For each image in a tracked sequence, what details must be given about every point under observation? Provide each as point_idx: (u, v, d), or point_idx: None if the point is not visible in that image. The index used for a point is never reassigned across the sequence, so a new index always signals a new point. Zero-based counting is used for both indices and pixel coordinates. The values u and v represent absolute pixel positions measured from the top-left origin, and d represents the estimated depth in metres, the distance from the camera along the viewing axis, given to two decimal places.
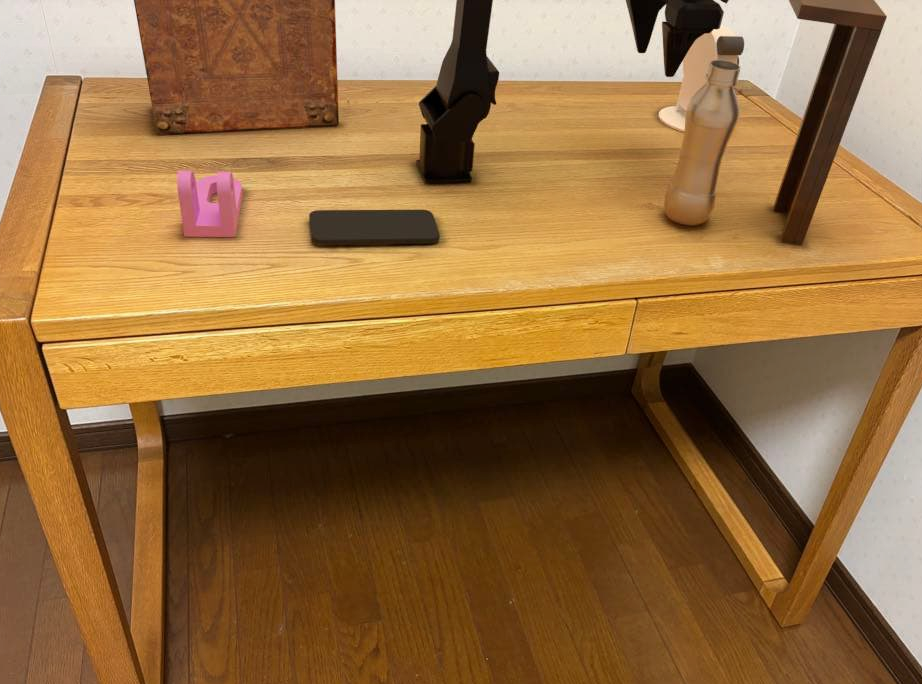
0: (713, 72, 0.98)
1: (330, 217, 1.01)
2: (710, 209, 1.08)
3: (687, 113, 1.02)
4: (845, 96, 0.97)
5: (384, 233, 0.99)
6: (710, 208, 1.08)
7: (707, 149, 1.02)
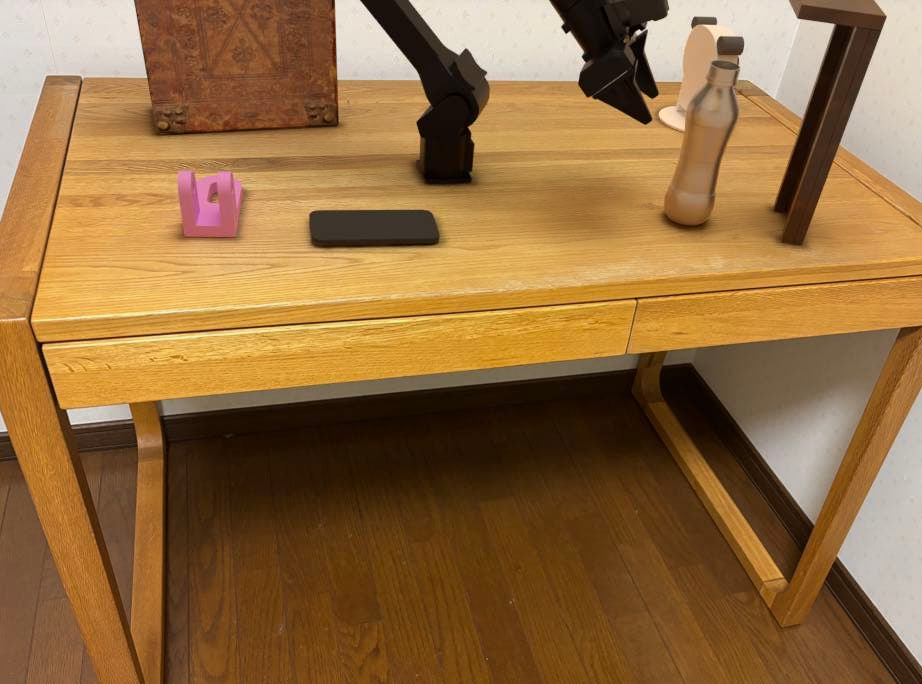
0: (713, 72, 0.98)
1: (330, 217, 1.01)
2: (710, 209, 1.08)
3: (687, 113, 1.02)
4: (845, 96, 0.97)
5: (384, 233, 0.99)
6: (710, 208, 1.08)
7: (707, 149, 1.02)
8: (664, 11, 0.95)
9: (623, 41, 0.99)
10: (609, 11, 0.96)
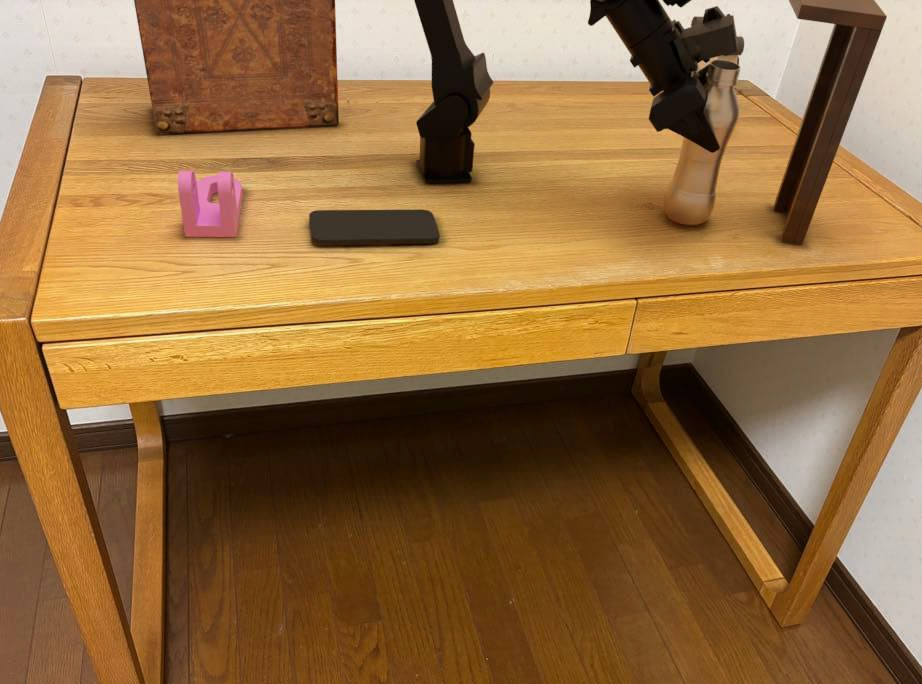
0: (713, 72, 0.98)
1: (330, 217, 1.01)
2: (710, 209, 1.08)
3: None
4: (845, 96, 0.97)
5: (384, 233, 0.99)
6: (710, 208, 1.08)
7: None
8: (735, 46, 0.95)
9: None
10: (679, 46, 0.96)
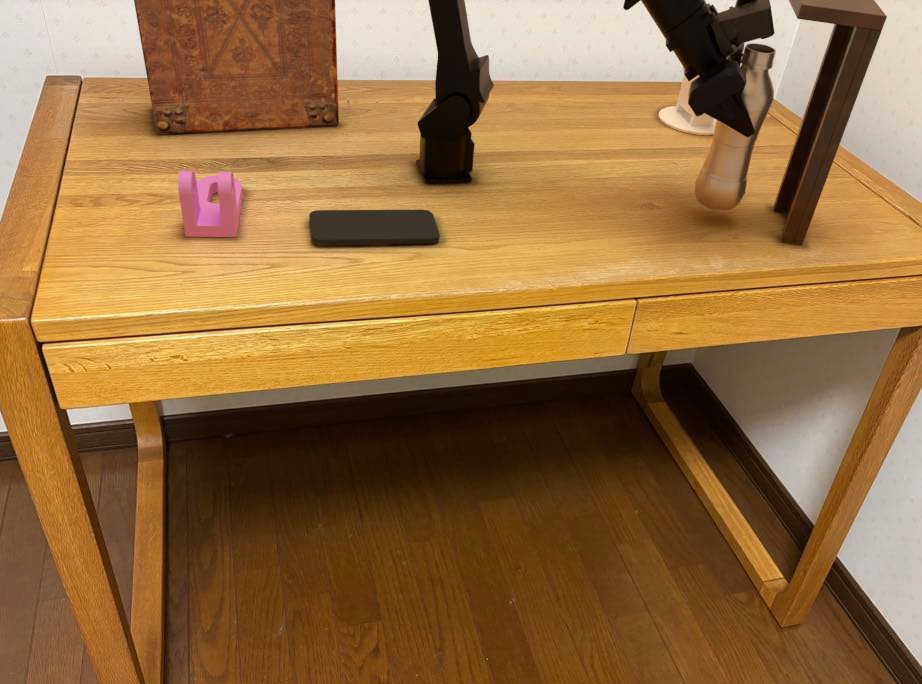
0: (749, 55, 0.98)
1: (330, 217, 1.01)
2: (742, 194, 1.08)
3: None
4: (845, 96, 0.97)
5: (384, 233, 0.99)
6: (742, 193, 1.08)
7: None
8: (772, 29, 0.95)
9: None
10: (717, 29, 0.96)
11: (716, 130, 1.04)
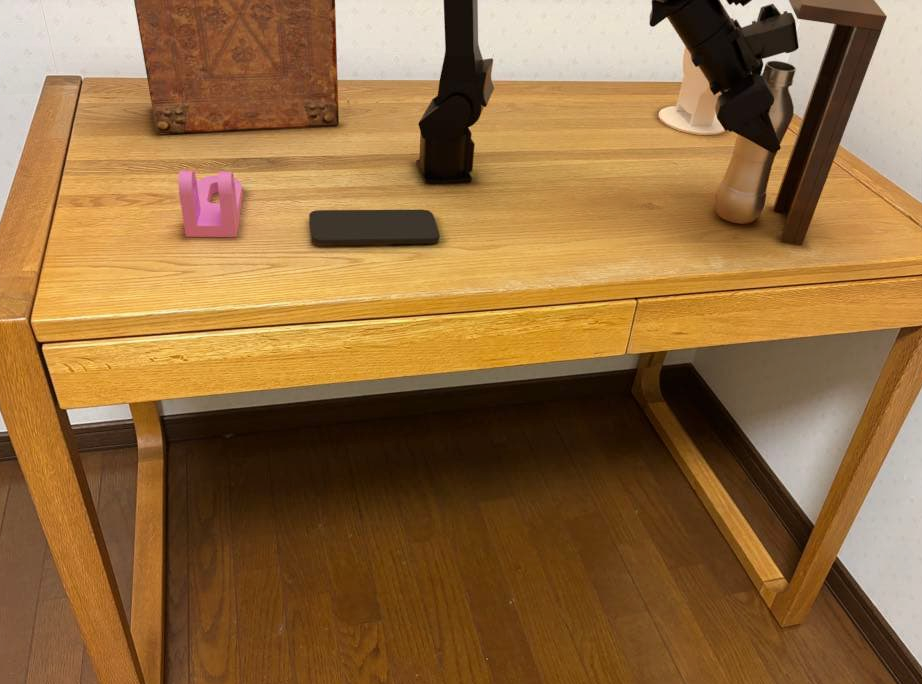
0: (770, 73, 1.00)
1: (330, 217, 1.01)
2: (762, 207, 1.10)
3: None
4: (845, 96, 0.97)
5: (384, 233, 0.99)
6: (762, 206, 1.10)
7: (763, 149, 1.04)
8: (796, 43, 0.97)
9: (750, 72, 1.00)
10: (742, 44, 0.97)
11: (737, 146, 1.06)
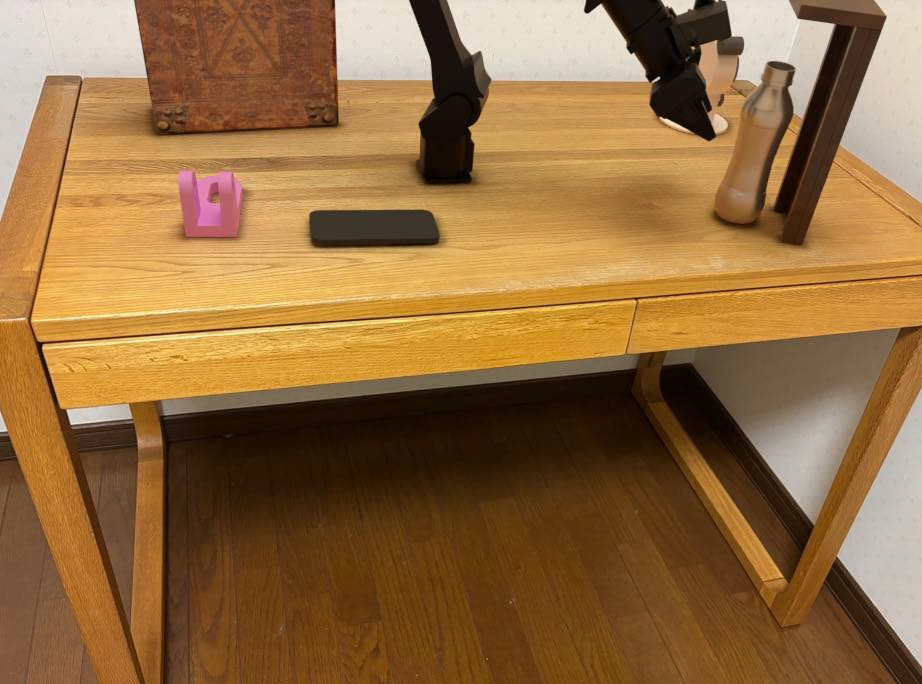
0: (770, 73, 1.00)
1: (330, 217, 1.01)
2: (762, 207, 1.10)
3: (742, 114, 1.03)
4: (845, 96, 0.97)
5: (384, 233, 0.99)
6: (762, 206, 1.10)
7: (763, 149, 1.04)
8: (729, 31, 0.97)
9: (686, 60, 1.01)
10: (676, 32, 0.97)
11: (737, 146, 1.06)
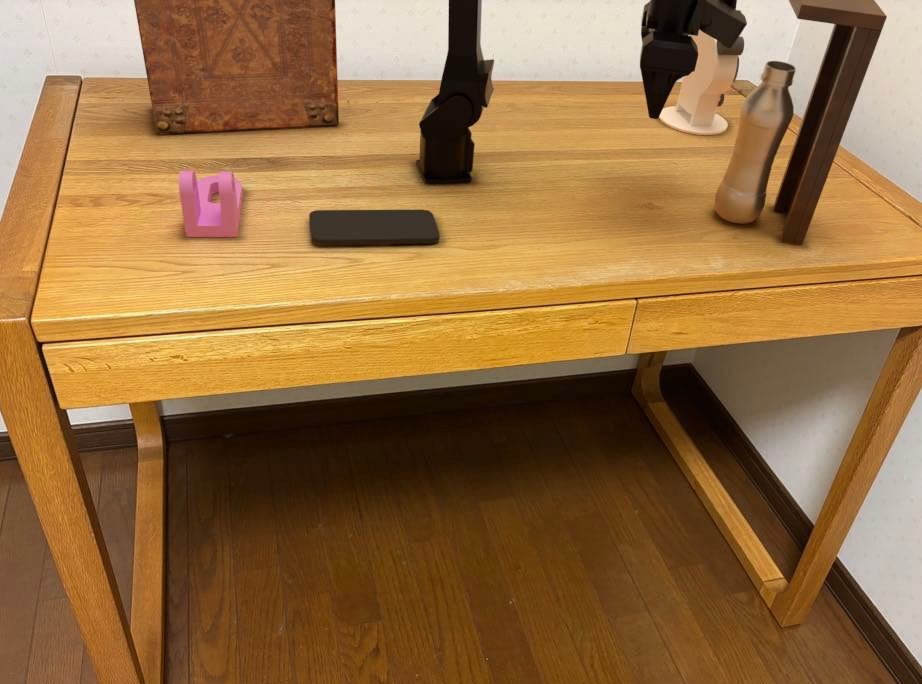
0: (770, 73, 1.00)
1: (330, 217, 1.01)
2: (762, 207, 1.10)
3: (742, 114, 1.03)
4: (845, 96, 0.97)
5: (384, 233, 0.99)
6: (762, 206, 1.10)
7: (763, 149, 1.04)
8: (733, 43, 0.98)
9: None
10: (700, 5, 0.96)
11: (737, 146, 1.06)
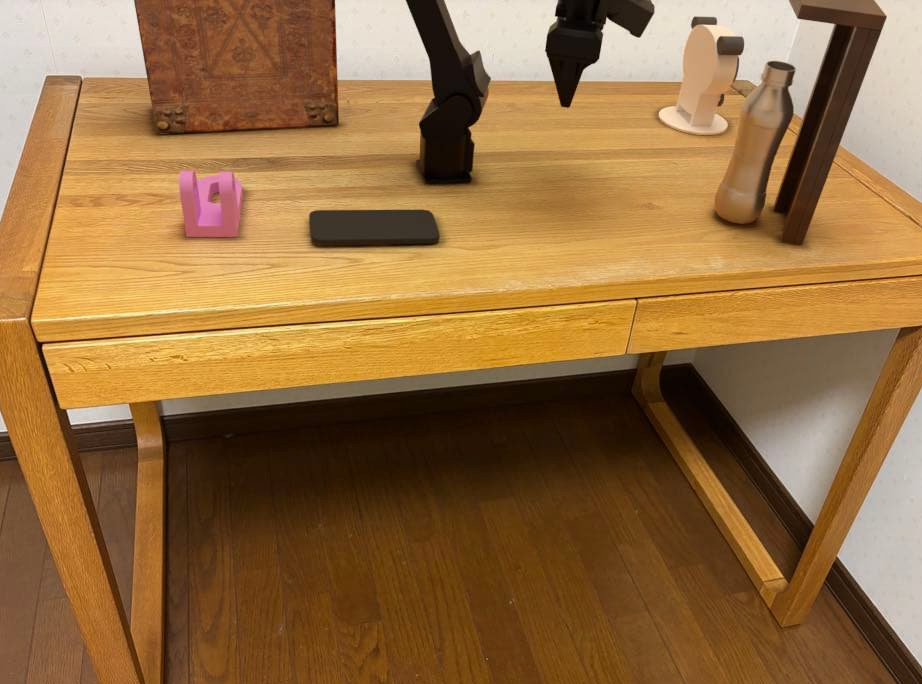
0: (770, 73, 1.00)
1: (330, 217, 1.01)
2: (762, 207, 1.10)
3: (742, 114, 1.03)
4: (845, 96, 0.97)
5: (384, 233, 0.99)
6: (762, 206, 1.10)
7: (763, 149, 1.04)
8: (641, 32, 0.99)
9: None
10: None
11: (737, 146, 1.06)
